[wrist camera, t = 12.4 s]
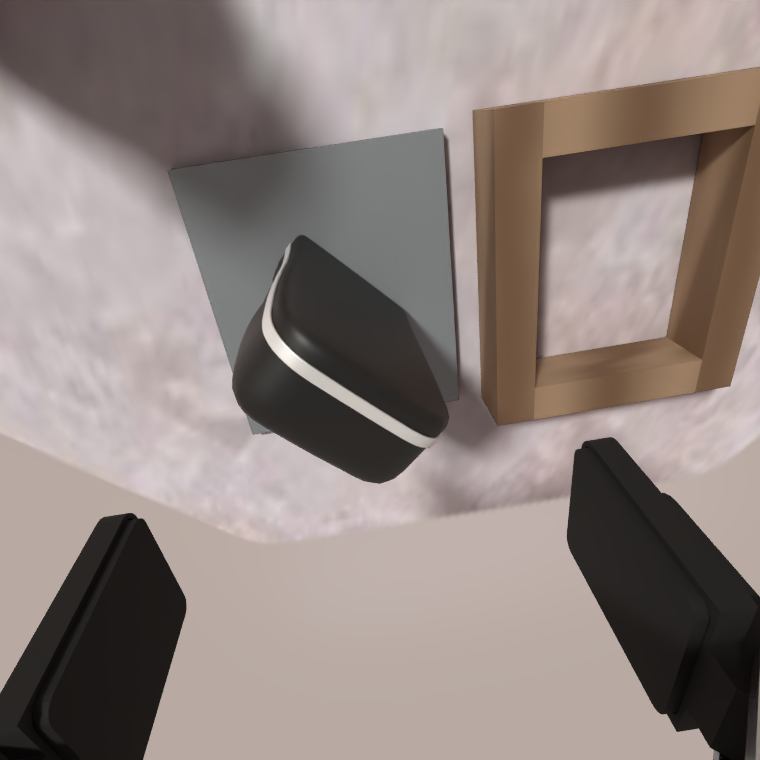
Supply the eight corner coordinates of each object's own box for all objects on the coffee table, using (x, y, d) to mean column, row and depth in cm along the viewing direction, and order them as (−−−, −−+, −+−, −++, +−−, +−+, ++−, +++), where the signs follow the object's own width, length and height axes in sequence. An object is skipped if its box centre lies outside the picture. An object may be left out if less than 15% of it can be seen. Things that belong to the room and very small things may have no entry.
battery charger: (251, 289, 23) (199, 418, 13) (296, 226, 22) (275, 315, 12) (364, 365, 26) (391, 519, 16) (410, 311, 25) (468, 442, 15)
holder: (756, 67, 21) (817, 60, 19) (693, 361, 29) (730, 386, 26) (472, 110, 21) (493, 109, 18) (481, 397, 28) (497, 425, 26)
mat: (440, 128, 21) (443, 128, 21) (456, 394, 28) (459, 399, 28) (171, 169, 21) (167, 170, 20) (254, 428, 28) (252, 434, 27)
